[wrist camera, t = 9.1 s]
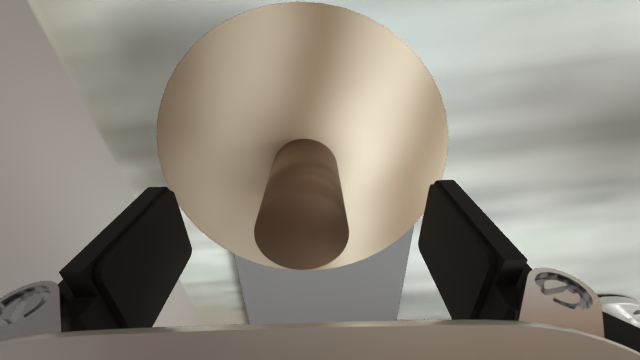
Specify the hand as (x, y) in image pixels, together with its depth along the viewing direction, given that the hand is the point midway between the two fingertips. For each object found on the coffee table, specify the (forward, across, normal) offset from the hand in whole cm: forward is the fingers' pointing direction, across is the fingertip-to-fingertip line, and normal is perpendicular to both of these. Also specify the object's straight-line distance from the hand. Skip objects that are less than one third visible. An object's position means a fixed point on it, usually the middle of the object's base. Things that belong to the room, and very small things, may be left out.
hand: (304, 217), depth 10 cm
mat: (+11, -1, +17) cm, 20 cm away
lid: (+5, 0, 0) cm, 5 cm away
